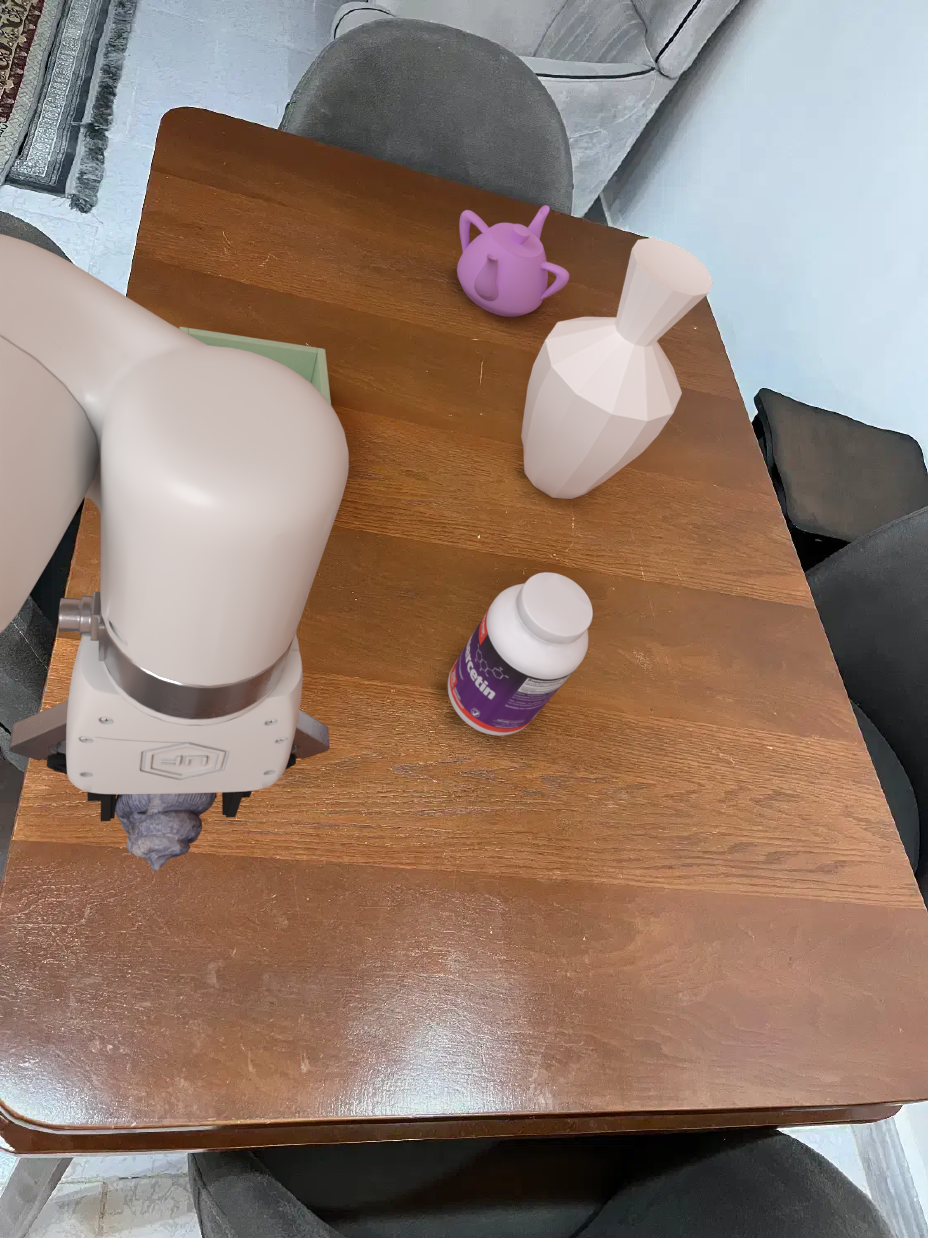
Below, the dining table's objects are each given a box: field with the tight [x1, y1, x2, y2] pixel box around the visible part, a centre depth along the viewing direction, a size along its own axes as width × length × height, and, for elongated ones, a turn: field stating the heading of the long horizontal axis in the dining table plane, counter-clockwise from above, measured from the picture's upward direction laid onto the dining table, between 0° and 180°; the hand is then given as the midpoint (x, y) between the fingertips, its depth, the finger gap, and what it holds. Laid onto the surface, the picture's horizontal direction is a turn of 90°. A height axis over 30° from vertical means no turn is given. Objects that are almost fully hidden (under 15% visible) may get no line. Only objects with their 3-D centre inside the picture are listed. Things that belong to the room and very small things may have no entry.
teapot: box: [456, 204, 570, 318], centre depth 102 cm, size 12×14×9 cm
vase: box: [520, 237, 714, 500], centre depth 81 cm, size 14×14×25 cm
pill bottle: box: [447, 571, 594, 737], centre depth 66 cm, size 8×8×14 cm
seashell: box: [115, 792, 218, 872], centre depth 47 cm, size 5×5×10 cm
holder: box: [178, 326, 332, 406], centre depth 77 cm, size 14×17×4 cm
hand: (170, 793), depth 48 cm, fingers closed on seashell, 5 cm apart
